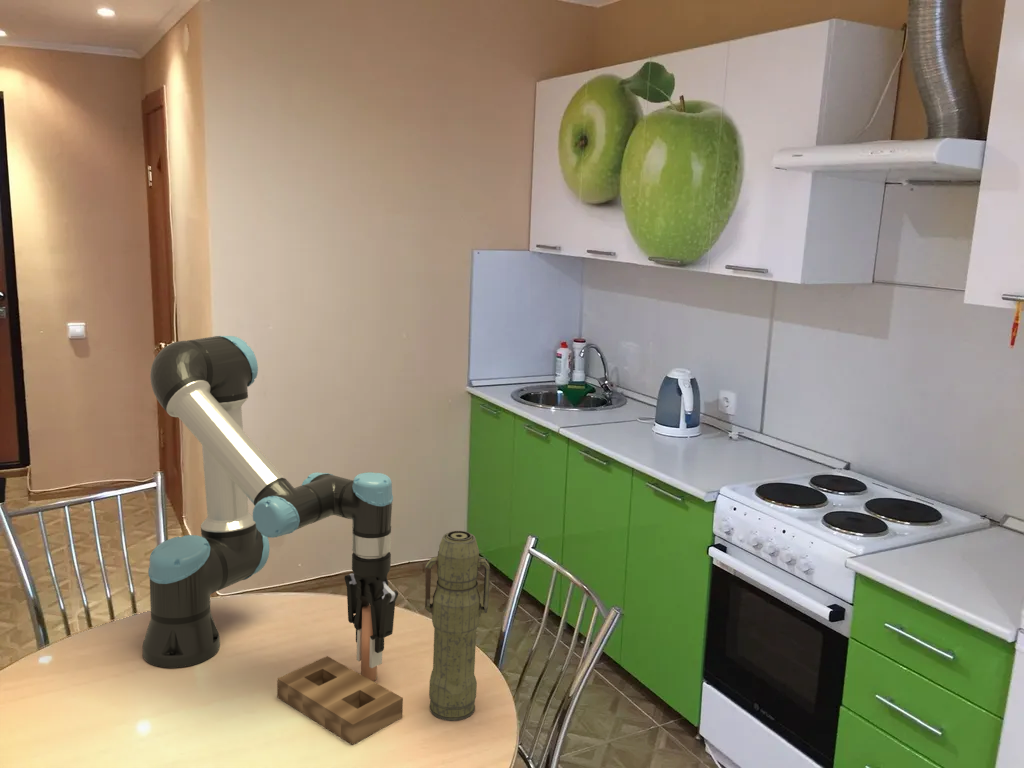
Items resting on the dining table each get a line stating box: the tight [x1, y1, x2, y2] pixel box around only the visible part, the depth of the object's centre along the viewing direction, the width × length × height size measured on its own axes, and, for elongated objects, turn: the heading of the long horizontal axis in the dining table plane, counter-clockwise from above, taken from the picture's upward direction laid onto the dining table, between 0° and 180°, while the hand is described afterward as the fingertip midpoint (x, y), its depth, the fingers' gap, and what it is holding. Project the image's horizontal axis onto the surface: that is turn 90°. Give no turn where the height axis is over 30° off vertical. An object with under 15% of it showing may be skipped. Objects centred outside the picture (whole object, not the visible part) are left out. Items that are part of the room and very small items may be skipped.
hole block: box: [276, 655, 404, 746], centre depth 166 cm, size 22×12×4 cm, turn 51°
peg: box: [360, 605, 378, 682], centre depth 176 cm, size 3×3×15 cm
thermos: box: [424, 530, 491, 722], centre depth 165 cm, size 9×12×35 cm
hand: (369, 661), depth 177 cm, fingers closed on peg, 3 cm apart
